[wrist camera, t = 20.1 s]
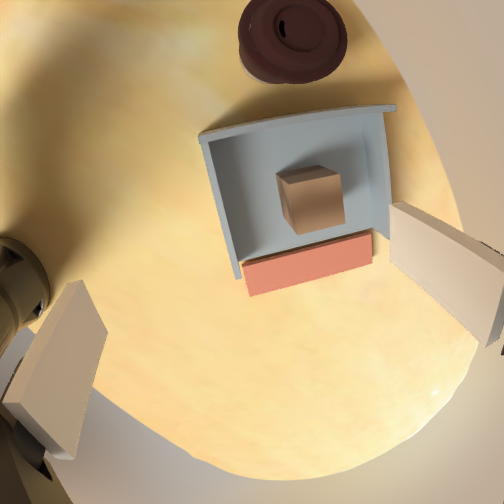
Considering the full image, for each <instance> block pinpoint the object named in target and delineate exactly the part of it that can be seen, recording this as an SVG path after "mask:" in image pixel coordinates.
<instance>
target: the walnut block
mask: <svg viewBox="0 0 504 504" xmlns="http://www.w3.org/2000/svg"><path fill="white" fill-rule="evenodd" d="M275 175H276V181H277V186H278V191H279V196H280V201H281V207H282V212H283V217H284V218H285V220H286V221H287V222H288V224H289V225H290V226H291V228H292V229H293V230H294V232H295V233H296V234H297V235H301V234H305V233H309V232H313V231H317V230H321V229H325V228H329V227H333V226H337V225H342V224H346V222H345V213H344V204H343V195H342V187H341V179H340V174H339V173H337V172H335V171H332V170H330V169H328V168H326V167H323V166H321V165H314V166H309V167H304V168H299V169H295V170H290V171H285V172H281V173H276V174H275Z"/></svg>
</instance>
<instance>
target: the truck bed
mask: <svg viewBox="0 0 504 504" xmlns="http://www.w3.org/2000/svg"><path fill="white" fill-rule="evenodd" d="M393 111H396V104H375V105H354V106H344V107H336V108H328V109H320V110H313V111H306V112H300V113H294V114H288V115H282V116H276V117H271V118H265V119H260V120H255V121H250V122H245V123H241V124H236V125H232V126H227V127H223V128H219V129H214V130H210V131H206V132H202V133H200V134H199V135H198V140H199V144H201V147H202V151H203V155H204V159H205V164H206V168H207V172H208V176H209V180H210V183H211V187H212V191H213V195H214V199H215V203H216V207H217V211H218V215H219V219H220V223H221V226H222V230H223V234H224V238H225V242H226V245H227V249H228V253H229V257H230V261H231V264H232V268H233V272H234V275H235V279H236V280H237V279H241V278H242V276H241V272H240V268H239V263H238V262H239V261H243V260H247V259H251V258H255V257H259V256H263V255H267V254H271V253H275V252H279V251H283V250H287V249H291V248H295V247H299V246H303V245H307V244H311V243H315V242H319V241H323V240H326V239H330V238H334V237H338V236H342V235H346V234H350V233H354V232H358V231H362V230H366V229H369V228H373V229H375V230H376V231H378V232H379V233H380V234H382V235H383V236H384V237H386V238H387V239H388V240H389V239H390V212H389V204H392V196H391V181H390V169H389V158H388V148H387V140H386V132H385V124H384V117H383V112H393ZM314 165H321V166H323V167H326V168H328V169H330V170H332V171H335V172H337V173H339V174H340V179H341V187H342V195H343V204H344V213H345V222H346V224H342V225H337V226H333V227H329V228H325V229H321V230H317V231H313V232H309V233H305V234H301V235H297V234H296V233H295V232H294V230H293V229H292V228H291V226H290V225H289V224H288V222H287V221H286V220H285V218H284V217H283V212H282V207H281V201H280V196H279V191H278V186H277V181H276V175H275V174H276V173H281V172H285V171H290V170H295V169H299V168H304V167H309V166H314Z"/></svg>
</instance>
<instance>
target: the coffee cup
mask: <svg viewBox="0 0 504 504" xmlns="http://www.w3.org/2000/svg"><path fill="white" fill-rule="evenodd" d="M238 38H239V43H240V45H239V54H240V62H241V65H242V67H243V69H244V71H245V72H246V73H247V74H248V75H249V76H250V77H251V78H253V79H254V80H256V81H259V82H261V83H267V84H283V83H289V84H305V83H310V82H313V81H317V80H319V79H322V78H324V77H326V76H328V75H329V74H331V73H332V72H333V71H334V70H335V69H336V68H337V67H338V66H339V65H340V63H341V62H342V60H343V58H344V56H345V53H346V49H347V32H346V28H345V25H344V23H343V21H342V18H341V17H340V15H339V13H338V12H337V11H336V10H335V8H334V7H333V6H332V5H331V4H330V3H329V2H327V1H326V0H251V1H250V2H249V4H248V5H247V6H246V8H245V9H244V11H243V13H242V16H241V19H240V22H239V26H238Z"/></svg>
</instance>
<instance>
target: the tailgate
mask: <svg viewBox="0 0 504 504" xmlns="http://www.w3.org/2000/svg"><path fill="white" fill-rule="evenodd" d="M371 263H372V237H371V233H369V232H365V233H361V234H357V235H353V236H349V237H346V238H342V239H338V240H334V241H330V242H326V243H322V244H318V245H314V246H311V247H307V248H303V249H299V250H295V251H291V252H287V253H283V254H279V255H275V256H271V257H267V258H263V259H259V260H255V261H251V262H247V263H243V264H242V267H243V271H244V275H245V279H246V283H247V287H248V291H249V295H250V296H254V295H258V294H262V293H266V292H270V291H274V290H278V289H282V288H285V287H289V286H293V285H297V284H300V283H304V282H308V281H311V280H315V279H319V278H322V277H326V276H329V275H333V274H337V273H340V272H344V271H347V270H351V269H354V268H358V267H361V266H364V265H368V264H371Z"/></svg>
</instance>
